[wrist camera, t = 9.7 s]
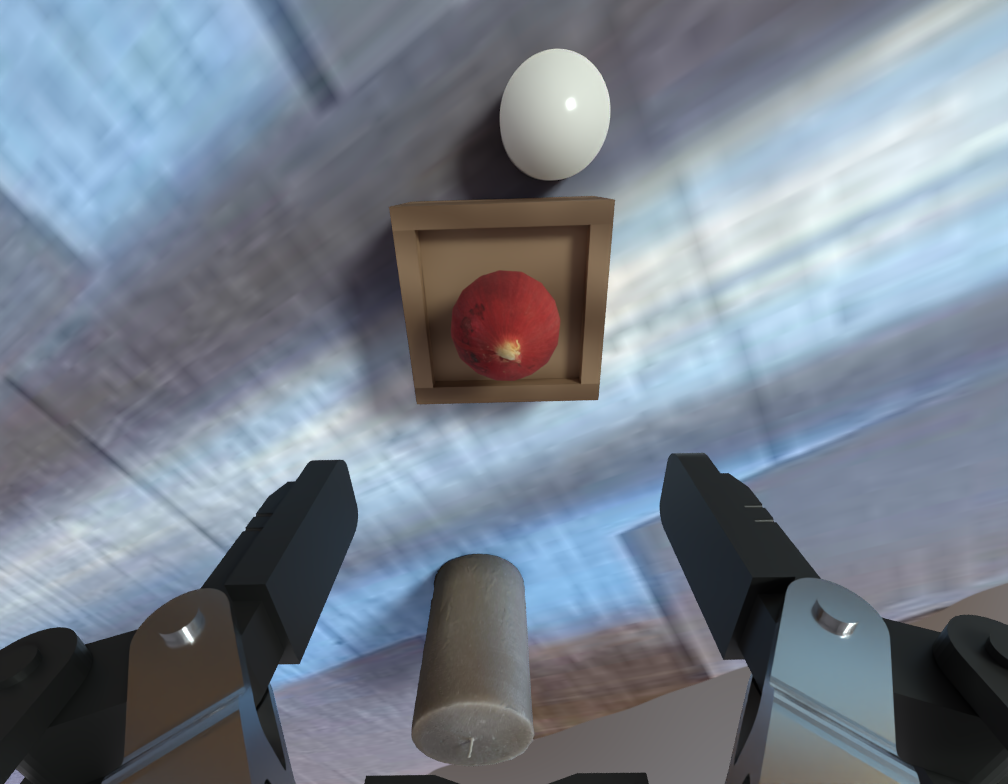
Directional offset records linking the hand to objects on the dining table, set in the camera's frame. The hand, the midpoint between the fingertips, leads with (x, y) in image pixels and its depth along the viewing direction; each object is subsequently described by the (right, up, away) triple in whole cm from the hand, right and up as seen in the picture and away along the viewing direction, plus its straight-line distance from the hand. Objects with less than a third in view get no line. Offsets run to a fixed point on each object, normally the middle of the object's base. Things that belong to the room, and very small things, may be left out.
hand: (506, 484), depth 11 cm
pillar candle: (-3, -18, +34) cm, 39 cm away
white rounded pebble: (+3, +19, +15) cm, 24 cm away
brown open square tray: (0, +10, +20) cm, 22 cm away
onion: (0, +8, +15) cm, 17 cm away
